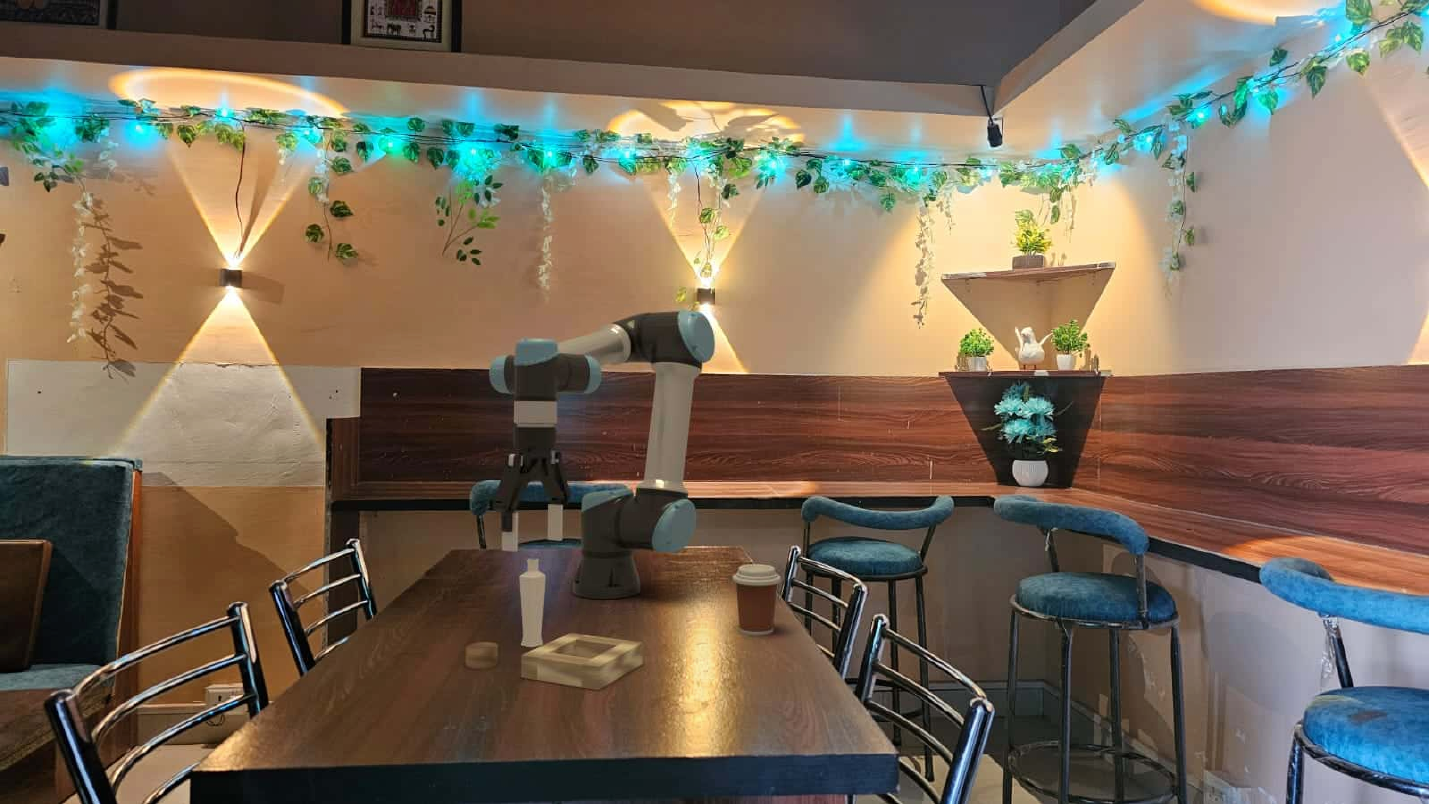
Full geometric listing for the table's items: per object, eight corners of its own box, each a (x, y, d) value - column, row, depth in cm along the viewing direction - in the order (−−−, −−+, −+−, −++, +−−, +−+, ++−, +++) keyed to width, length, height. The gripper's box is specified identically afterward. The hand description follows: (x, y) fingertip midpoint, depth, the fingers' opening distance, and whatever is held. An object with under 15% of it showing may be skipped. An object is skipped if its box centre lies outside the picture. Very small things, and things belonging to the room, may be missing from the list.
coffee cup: (755, 640, 154) (756, 574, 154) (722, 629, 161) (722, 566, 161) (790, 631, 160) (790, 568, 160) (756, 622, 167) (757, 561, 167)
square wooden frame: (570, 653, 145) (570, 633, 145) (642, 663, 139) (642, 642, 139) (521, 677, 132) (521, 655, 132) (598, 690, 127) (598, 666, 127)
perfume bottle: (539, 648, 148) (540, 562, 148) (516, 646, 149) (517, 561, 149) (550, 641, 152) (550, 558, 152) (527, 639, 153) (527, 556, 153)
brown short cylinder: (479, 658, 142) (479, 640, 142) (503, 662, 140) (503, 644, 140) (459, 667, 137) (459, 648, 137) (484, 671, 135) (484, 652, 135)
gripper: (556, 424, 163) (555, 534, 163) (472, 426, 140) (470, 554, 140) (590, 425, 160) (588, 537, 160) (509, 427, 137) (507, 557, 137)
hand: (533, 545), depth 150 cm, fingers open, 13 cm apart
